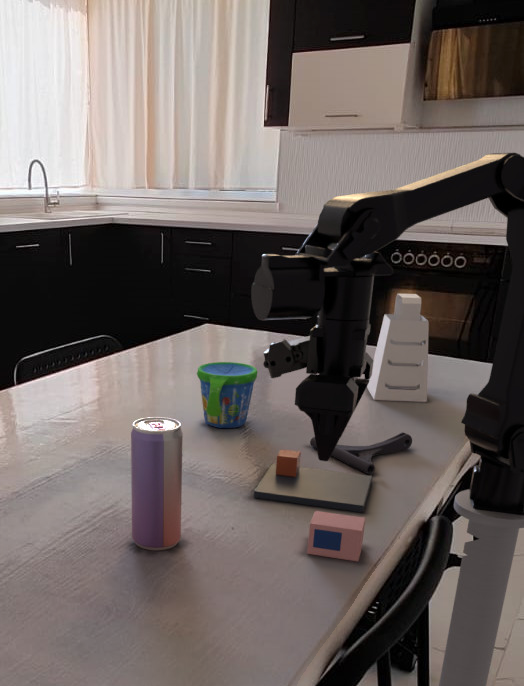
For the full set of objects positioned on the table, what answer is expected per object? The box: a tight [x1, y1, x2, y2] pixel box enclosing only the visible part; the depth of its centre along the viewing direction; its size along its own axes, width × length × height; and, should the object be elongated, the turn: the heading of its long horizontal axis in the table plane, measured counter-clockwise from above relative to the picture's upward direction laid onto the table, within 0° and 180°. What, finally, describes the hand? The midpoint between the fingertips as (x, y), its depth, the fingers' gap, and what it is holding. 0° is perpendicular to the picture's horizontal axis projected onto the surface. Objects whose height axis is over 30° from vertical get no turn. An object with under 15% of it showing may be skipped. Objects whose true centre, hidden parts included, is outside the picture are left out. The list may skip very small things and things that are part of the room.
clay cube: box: [275, 449, 302, 477], centre depth 113 cm, size 3×3×3 cm
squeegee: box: [309, 432, 413, 475], centre depth 125 cm, size 14×15×3 cm
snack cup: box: [196, 361, 258, 429], centre depth 138 cm, size 16×10×10 cm
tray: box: [253, 463, 373, 513], centre depth 110 cm, size 15×12×1 cm
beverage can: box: [130, 416, 184, 552], centre depth 91 cm, size 6×6×15 cm
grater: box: [366, 293, 430, 403], centre depth 156 cm, size 10×10×20 cm
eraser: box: [306, 510, 367, 562], centre depth 92 cm, size 6×4×4 cm
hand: (330, 448), depth 93 cm, fingers open, 9 cm apart
